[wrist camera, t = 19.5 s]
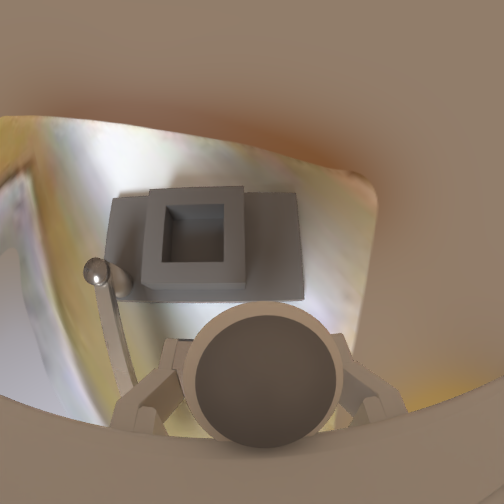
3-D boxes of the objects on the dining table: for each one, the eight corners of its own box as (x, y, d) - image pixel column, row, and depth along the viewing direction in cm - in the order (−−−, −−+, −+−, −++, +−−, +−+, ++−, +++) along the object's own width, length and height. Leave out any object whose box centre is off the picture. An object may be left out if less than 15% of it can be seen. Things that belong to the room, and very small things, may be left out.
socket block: (105, 300, 24) (84, 293, 20) (116, 202, 27) (100, 182, 23) (301, 300, 25) (313, 293, 21) (293, 197, 28) (302, 175, 24)
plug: (211, 392, 16) (168, 473, 5) (210, 317, 18) (160, 281, 6) (289, 390, 16) (364, 460, 5) (287, 315, 18) (360, 276, 7)
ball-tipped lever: (93, 268, 21) (81, 261, 19) (114, 261, 21) (104, 254, 19) (157, 481, 16) (150, 492, 14) (180, 479, 16) (175, 490, 14)
